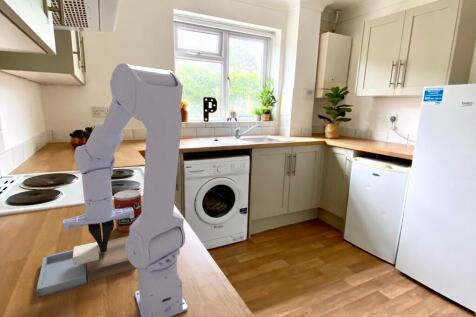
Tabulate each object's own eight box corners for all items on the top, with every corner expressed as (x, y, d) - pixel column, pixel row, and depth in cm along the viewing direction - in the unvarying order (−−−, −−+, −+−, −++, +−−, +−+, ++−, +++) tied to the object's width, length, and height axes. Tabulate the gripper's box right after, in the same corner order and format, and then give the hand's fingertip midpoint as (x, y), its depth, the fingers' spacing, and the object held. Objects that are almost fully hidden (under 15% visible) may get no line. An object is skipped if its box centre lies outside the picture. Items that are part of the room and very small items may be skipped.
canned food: (115, 234, 76) (112, 199, 74) (117, 223, 83) (114, 191, 81) (143, 230, 79) (141, 196, 77) (142, 219, 86) (140, 188, 84)
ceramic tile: (99, 259, 60) (98, 251, 59) (73, 265, 57) (72, 257, 57) (98, 249, 64) (97, 241, 64) (74, 254, 61) (74, 246, 61)
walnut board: (136, 267, 61) (136, 258, 60) (88, 281, 56) (87, 271, 55) (128, 244, 71) (127, 236, 71) (86, 254, 66) (85, 245, 65)
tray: (86, 283, 55) (85, 276, 55) (37, 297, 51) (36, 289, 51) (85, 253, 66) (84, 247, 66) (45, 263, 62) (44, 256, 62)
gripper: (129, 187, 66) (132, 235, 69) (61, 196, 59) (68, 250, 62) (134, 195, 61) (137, 248, 63) (59, 207, 53) (67, 265, 56)
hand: (103, 250), depth 62 cm, fingers closed
